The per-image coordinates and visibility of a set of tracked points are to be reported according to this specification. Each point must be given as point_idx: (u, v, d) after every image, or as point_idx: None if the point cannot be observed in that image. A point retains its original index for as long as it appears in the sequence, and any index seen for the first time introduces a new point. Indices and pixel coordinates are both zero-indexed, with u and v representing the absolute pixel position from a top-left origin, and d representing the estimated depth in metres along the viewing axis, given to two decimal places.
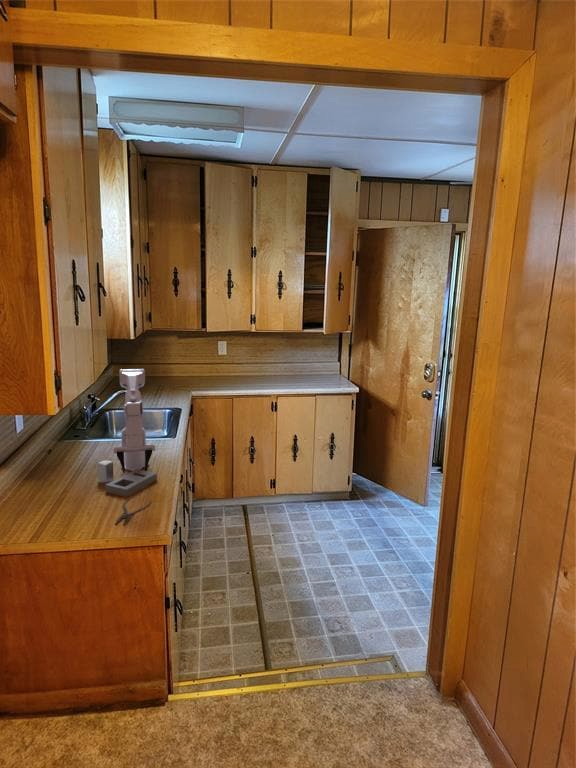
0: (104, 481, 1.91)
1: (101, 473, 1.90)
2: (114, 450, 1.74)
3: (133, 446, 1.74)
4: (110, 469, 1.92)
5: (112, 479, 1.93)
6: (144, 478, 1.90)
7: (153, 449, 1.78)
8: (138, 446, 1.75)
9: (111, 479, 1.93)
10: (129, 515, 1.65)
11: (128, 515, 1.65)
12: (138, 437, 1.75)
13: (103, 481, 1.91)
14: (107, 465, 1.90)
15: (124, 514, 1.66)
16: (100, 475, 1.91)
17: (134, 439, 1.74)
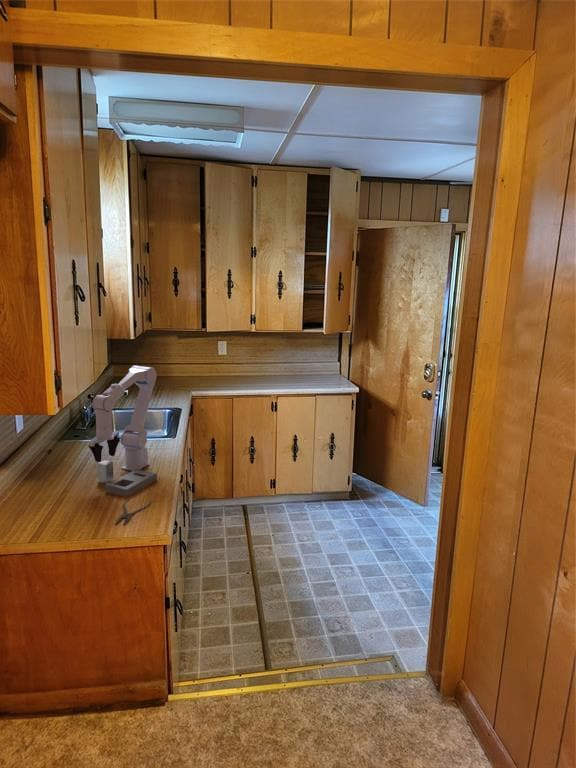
0: (104, 481, 1.91)
1: (101, 473, 1.90)
2: (93, 443, 1.83)
3: (109, 436, 1.88)
4: (110, 469, 1.92)
5: (112, 479, 1.93)
6: (144, 478, 1.90)
7: (118, 435, 1.95)
8: (112, 435, 1.90)
9: (111, 479, 1.93)
10: (129, 515, 1.65)
11: (128, 515, 1.65)
12: (111, 427, 1.89)
13: (103, 481, 1.91)
14: (107, 465, 1.90)
15: (124, 514, 1.65)
16: (100, 475, 1.91)
17: (109, 429, 1.88)
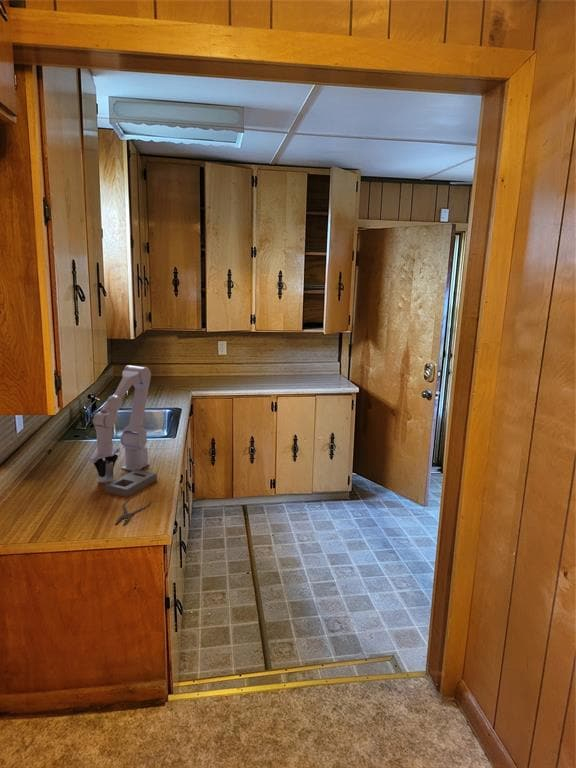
0: (104, 481, 1.91)
1: None
2: (94, 460, 1.84)
3: (110, 452, 1.89)
4: (110, 469, 1.92)
5: (112, 479, 1.93)
6: (144, 478, 1.90)
7: (118, 451, 1.97)
8: (112, 451, 1.91)
9: (111, 479, 1.93)
10: (129, 515, 1.65)
11: (128, 515, 1.65)
12: None
13: (103, 481, 1.91)
14: (107, 465, 1.90)
15: (124, 514, 1.65)
16: None
17: (110, 446, 1.89)
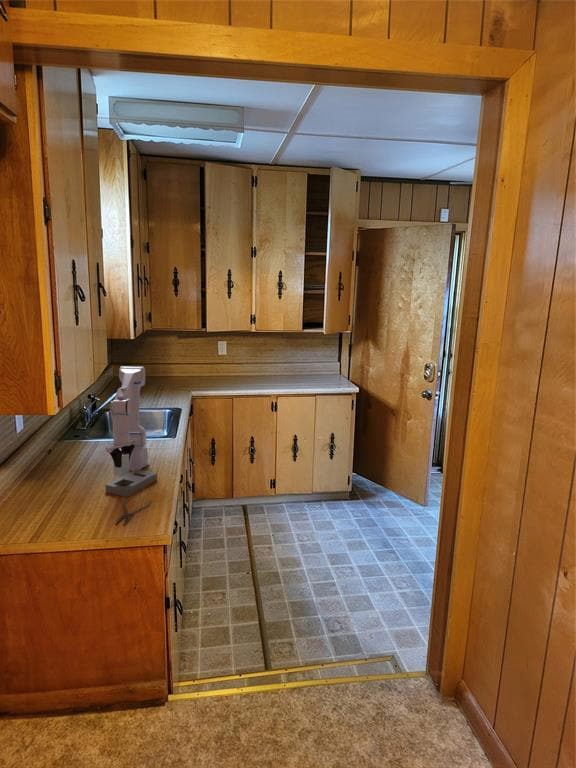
0: (120, 473, 1.82)
1: None
2: (110, 449, 1.76)
3: (126, 442, 1.81)
4: (126, 461, 1.84)
5: (128, 471, 1.85)
6: (144, 478, 1.90)
7: (135, 441, 1.88)
8: (129, 441, 1.82)
9: (126, 471, 1.85)
10: (129, 515, 1.65)
11: (128, 515, 1.65)
12: (128, 432, 1.82)
13: (119, 473, 1.83)
14: (123, 457, 1.82)
15: (124, 514, 1.65)
16: (115, 467, 1.83)
17: (127, 435, 1.80)
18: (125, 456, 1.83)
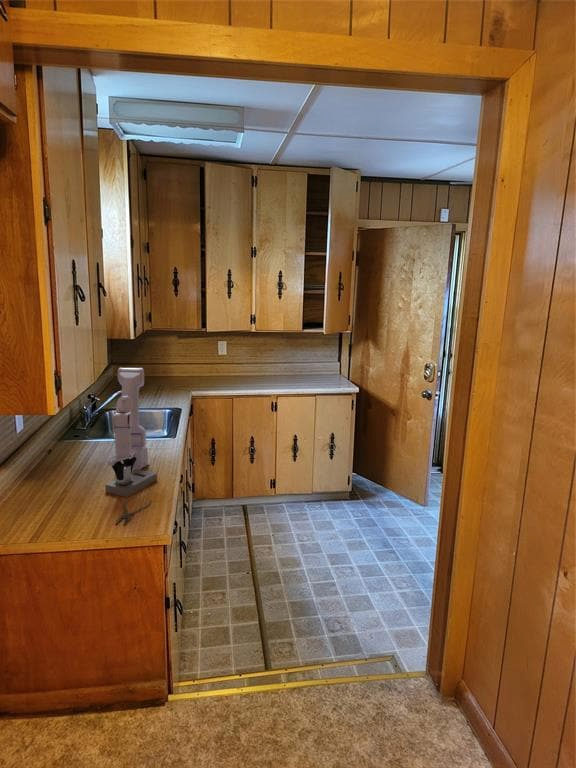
0: None
1: None
2: (112, 463, 1.76)
3: (128, 455, 1.81)
4: (128, 474, 1.84)
5: None
6: (144, 478, 1.90)
7: (137, 453, 1.89)
8: (131, 454, 1.83)
9: (128, 484, 1.85)
10: (129, 515, 1.65)
11: (128, 515, 1.65)
12: (130, 445, 1.82)
13: None
14: (125, 469, 1.82)
15: (124, 514, 1.65)
16: (117, 480, 1.83)
17: (129, 448, 1.81)
18: (127, 469, 1.83)
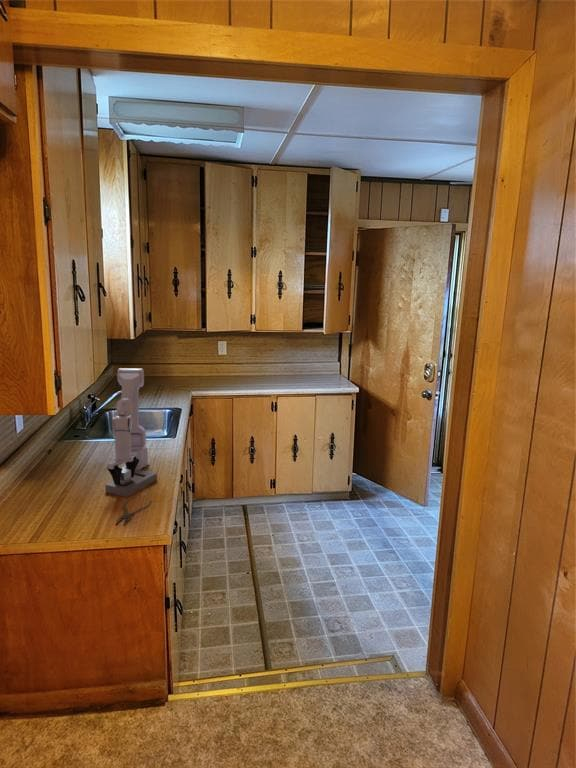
0: None
1: None
2: (112, 466, 1.76)
3: (128, 458, 1.81)
4: (128, 478, 1.84)
5: None
6: (144, 478, 1.90)
7: (137, 456, 1.89)
8: (131, 457, 1.83)
9: None
10: (129, 515, 1.65)
11: (128, 515, 1.65)
12: (130, 448, 1.83)
13: None
14: (125, 473, 1.83)
15: (124, 514, 1.65)
16: None
17: (129, 451, 1.81)
18: (127, 473, 1.84)
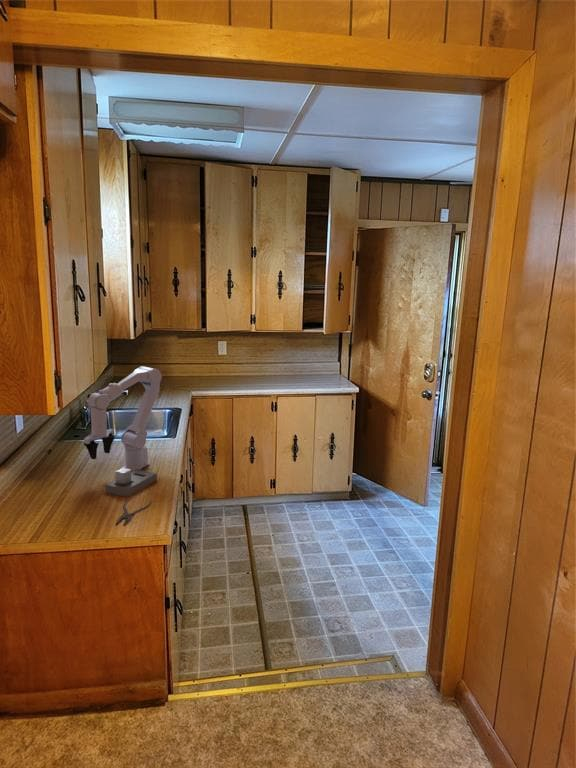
0: None
1: (119, 481, 1.83)
2: (88, 441, 1.86)
3: (104, 433, 1.91)
4: (128, 478, 1.84)
5: None
6: (144, 478, 1.90)
7: (113, 433, 1.98)
8: (106, 433, 1.93)
9: None
10: (129, 515, 1.65)
11: (128, 515, 1.65)
12: (106, 425, 1.92)
13: None
14: (125, 473, 1.83)
15: (124, 514, 1.65)
16: (117, 484, 1.84)
17: (104, 427, 1.91)
18: (127, 473, 1.84)
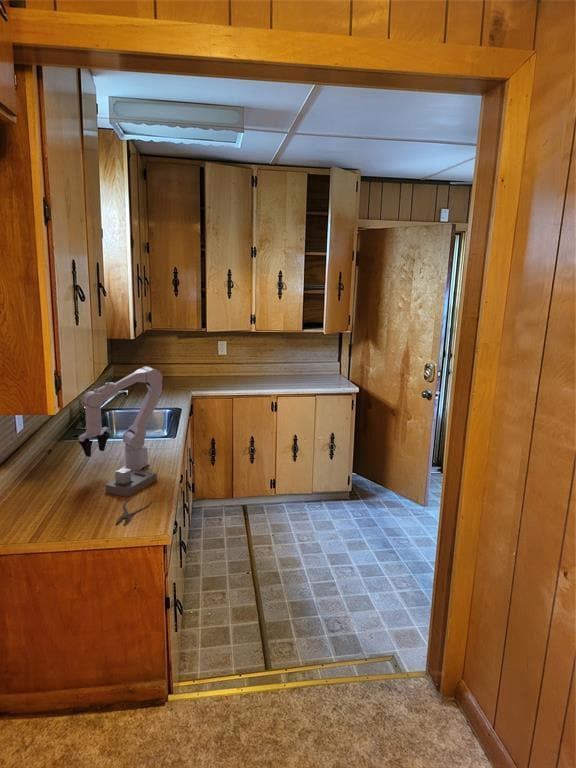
0: None
1: (119, 481, 1.83)
2: (83, 438, 1.88)
3: (98, 431, 1.93)
4: (128, 478, 1.84)
5: None
6: (144, 478, 1.90)
7: (107, 431, 2.01)
8: (101, 431, 1.95)
9: None
10: (129, 515, 1.65)
11: (128, 515, 1.65)
12: None
13: None
14: (125, 473, 1.83)
15: (124, 514, 1.65)
16: (117, 484, 1.84)
17: (99, 425, 1.93)
18: (127, 473, 1.84)
